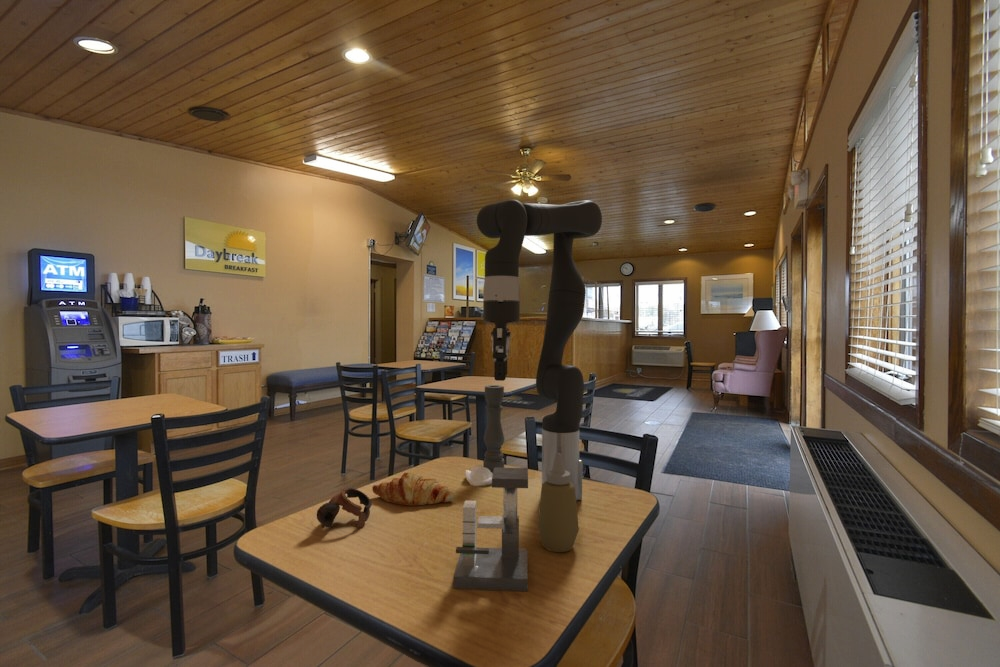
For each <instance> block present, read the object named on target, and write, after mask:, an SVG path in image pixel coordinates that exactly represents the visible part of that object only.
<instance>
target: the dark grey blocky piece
mask: <svg viewBox="0 0 1000 667" xmlns="http://www.w3.org/2000/svg"><path fill="white" fill-rule="evenodd" d="M491 488H493V489H495V488H496V489H497V488H498V489H499V488H501V489H502V488H503V492H502V493H503V495H502V496H503V500H502V502H503V503H502V504H503V506H502V509H503V510H502V515H503V517H502V516H494V515H493V516H490V515H489V516H487V515H482V516H481V515H479V516H478V519H477V522H476V529H495V530H496V529H499V530H502V529H503V532H504V533H507V534H514V533H516V532H517V516H518V489H529V468H528V467H504V468H500V467H494V471H493V475H492V484H491Z"/></svg>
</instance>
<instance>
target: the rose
mask: <svg viewBox="0 0 1000 667" xmlns="http://www.w3.org/2000/svg"><path fill="white" fill-rule="evenodd" d="M464 475H465V479H466V480H467V482H468V483H469V484H470V485H471V486H472V487H473V486H474V487H482V486H490V485H492V475H493V473H492V472H490V470H489V469H488V468H485V467H483V465H481V464H479V465H475V466H474V467H472V468H470V470H469V469H465V474H464Z"/></svg>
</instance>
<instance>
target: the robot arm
mask: <svg viewBox="0 0 1000 667" xmlns="http://www.w3.org/2000/svg"><path fill="white" fill-rule="evenodd" d="M602 224H603V214H602V211H601V209H600V207H599V205H598V204H597V202H594V201H592V200H588V199H586V200H585V199H584V200H578V201H572V202H568V203H567V202H566V203H564V204H551V203H550V204H548V203H532V202H531V203H529V202H526V203H525V202H524V203H522V202H521V201H519V200H517V199H507V200H506V199H505V200H504V201H502V200H501V201H497V202H494V203H490V204H487V205H485V206H483V207H482V208H481V209H479V211H478V213H477V215H476V226H477V229H478V231H479V232H480V233H481V234H482V235H483V236H484V237H486V238H489V239H499V240H498V242H497V244H496V245H495V246H494V247H491V248H489V249H488V250H487V251H486V252H485V255H484V280H483V281H484V282H483V289H482V290H483V292H482V294H483V297H482V298H483V306H482V307H483V309H482V312H483V313H482V318H483V319H482V320H483V322H485V323H493V324H494V327H493V329H492V331H491V332H490V333H491V334H490V338H491V352H492V359H493V362H494V369H493V370H494V374H493V375H494V376H493V378H494V381H500V382H501V381H505V380H506V379H507V378H506V376H507V374H508V358H509V356H510V354H509V353H510V350H511V340H512V331H510V329H509V327H508V324H509V323H514V324H515V323H516V324H517V323H519V322H520V319H521V318H520V316H521V314H520V312H521V311H520V309H521V306H520V305H521V304H520V302H521V301H520V300H521V297H520V295H521V293H520V292H521V291H520V290H521V289H520V281H519V277H520V276H519V274H520V272H519V271H520V270H519V269H520V267H519V265H520V264H519V259H520V255H521V251H522V248H523V243H524V239H525V237H531V236H532V237H536V236H545V235H552V234H553V245H552V246H553V249H552V250H553V252H552V264H551V265H552V268H551V276H550V285H549V289H548V290H549V291H548V299H547V300H548V301H547V309H546V310H547V311H546V320H545V327H544V335H543V341H542V348H541V352H540V356H539V362H538V366H537V370H536V377H535V386H536V387H535V388H536V391H537V394H538V395H539V397H540V398H541V399H544V400H547V401H553V402H556V408H555V412H553V413H549V414H546V415H545V416H544V417H543V418H542V422H541V423H542V424H541V433H542V434H541V485H542V484H543V483H544V482H546V480H547V471H549V470H552V467H553V463H554V458H555V454H556V453H560V454H562V459H563V464H564V469H565V470H566V471H568V472H570V482H571V483H572V484H573V485H574V486H575V494H576V502H577V501H579V500H583V460H582V459H580V424H581V420H582V418H583V406H584V391H585V388H584V387H585V384H584V383H585V382H584V381H585V380H584V376H583V372H582V371H581V369H580V368H579V367H577V366H575V365H569V364H563V358H564V352H565V347H566V345H567V344H568V342H569V339H570V338H571V336H572V335H573V334H574V331H575V330H576V328H578V326H579V323H580V322H581V320H582V318H583V316H584V311H585V302H586V292H587V290H586V289H587V288H586V285H585V282H584V280H583V277H582V275H581V274H580V271H579V270H578V268H577V265H576V263H575V260H574V257H573V244H574V239H583V238H585V239H586V238H589V237H593V236H595V235H596V234H598V233H599V231H600V230H601V227H602Z"/></svg>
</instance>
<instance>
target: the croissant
mask: <svg viewBox="0 0 1000 667" xmlns="http://www.w3.org/2000/svg"><path fill="white" fill-rule="evenodd" d="M371 488H372V492H373V493H374V495H376V496H378V497H379V498H381V499H382V500H384V501H385V502H387V503H393V504H394V505H395V504H396V505H402V506H411V507H412V506H413V507H416V506H425V505H433V504H438V503H443V504H445V503H449V502H452V501H454V500H455V499H456V493H455V492H454V491H452V490H451V489H450V488H449V487H448V486H447V485H442V484H441V483H439V481H437V479H435V478H424V477H423V476H422V475H421V474H419V473H414V472H404V473H403V474H402V475H401V477H394V478H392V479H391V481H389V482H387V481H384V482H381V483H379V484H375V485H373V486H372V487H371Z"/></svg>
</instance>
